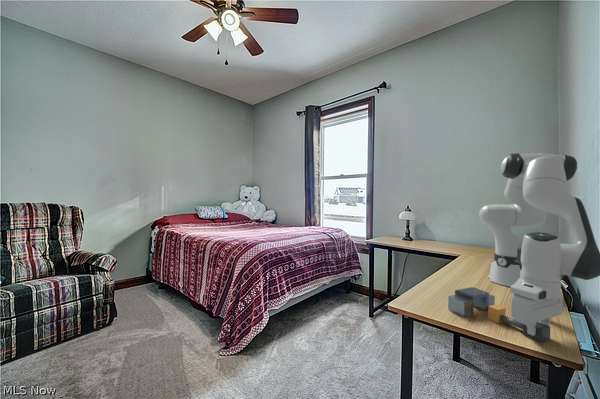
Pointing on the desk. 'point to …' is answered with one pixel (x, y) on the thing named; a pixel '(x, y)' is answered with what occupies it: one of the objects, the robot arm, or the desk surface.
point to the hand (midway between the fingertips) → (537, 332)
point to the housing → (469, 301)
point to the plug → (518, 323)
